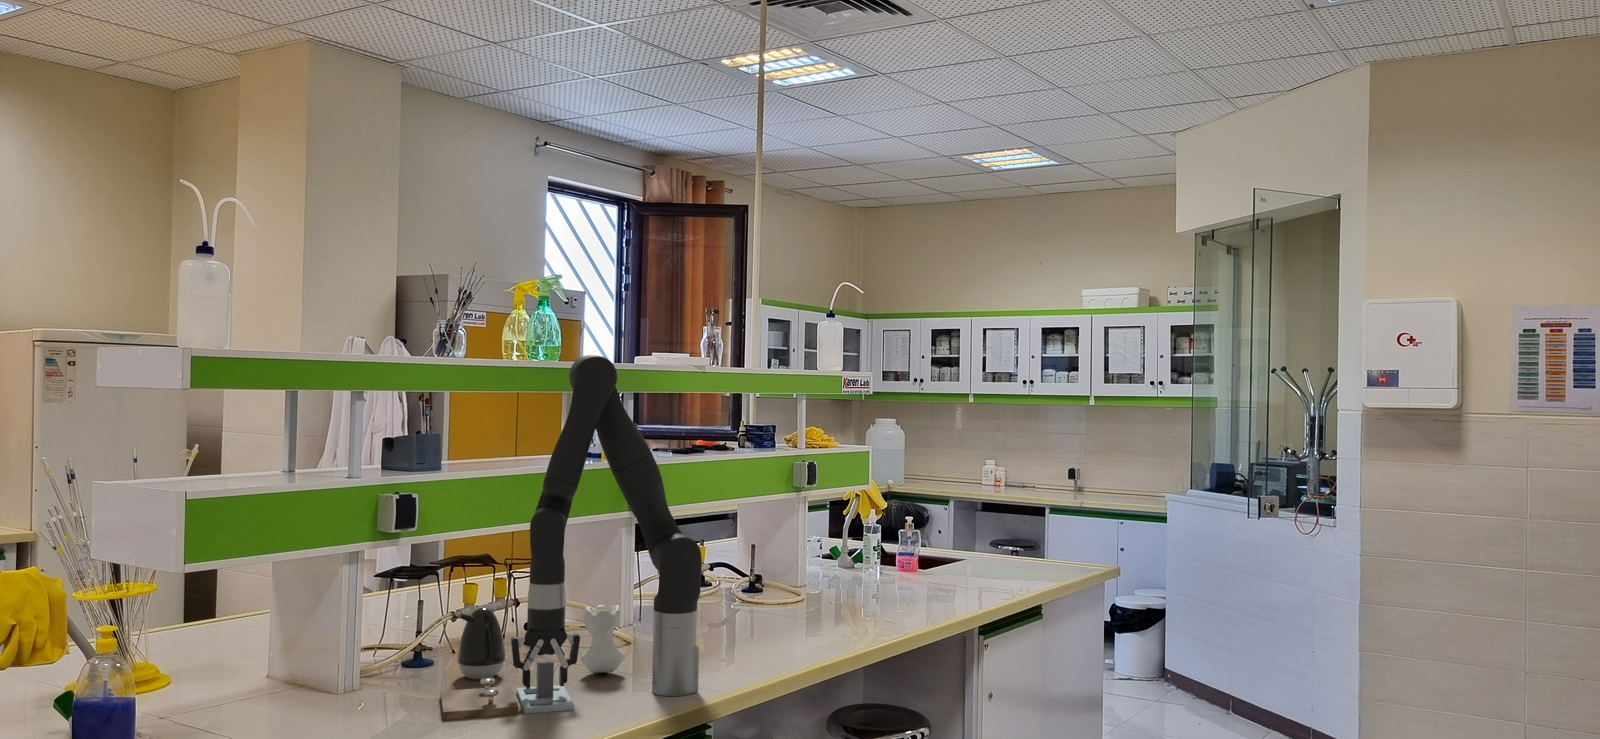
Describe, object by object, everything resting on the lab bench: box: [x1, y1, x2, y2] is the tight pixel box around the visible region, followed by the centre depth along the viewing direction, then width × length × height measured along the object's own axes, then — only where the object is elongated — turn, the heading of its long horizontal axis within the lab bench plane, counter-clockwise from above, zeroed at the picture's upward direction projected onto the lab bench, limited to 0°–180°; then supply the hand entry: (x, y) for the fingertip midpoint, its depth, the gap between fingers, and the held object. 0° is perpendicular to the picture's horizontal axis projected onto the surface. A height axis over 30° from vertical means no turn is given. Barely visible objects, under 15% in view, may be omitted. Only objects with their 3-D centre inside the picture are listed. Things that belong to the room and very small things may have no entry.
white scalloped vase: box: [580, 604, 625, 674], centre depth 251 cm, size 10×11×15 cm
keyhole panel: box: [516, 658, 575, 715], centre depth 227 cm, size 10×16×8 cm, turn 20°
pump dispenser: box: [456, 607, 506, 681], centre depth 246 cm, size 10×10×15 cm
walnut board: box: [439, 677, 520, 721], centre depth 223 cm, size 14×16×4 cm
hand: (544, 686), depth 227 cm, fingers open, 6 cm apart
